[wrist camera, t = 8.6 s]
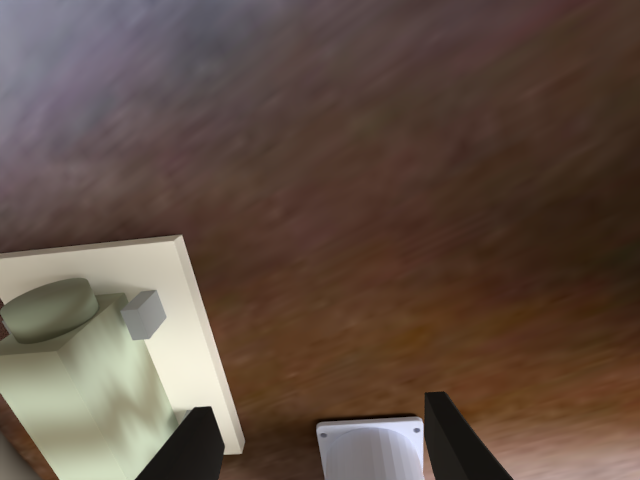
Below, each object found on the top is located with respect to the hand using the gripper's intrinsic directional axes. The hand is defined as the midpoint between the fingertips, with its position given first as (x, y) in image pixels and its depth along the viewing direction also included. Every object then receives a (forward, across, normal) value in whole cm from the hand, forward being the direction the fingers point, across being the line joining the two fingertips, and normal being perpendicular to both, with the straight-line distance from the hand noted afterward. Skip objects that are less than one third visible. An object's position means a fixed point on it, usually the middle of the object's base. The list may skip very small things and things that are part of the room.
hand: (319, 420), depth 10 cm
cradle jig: (+9, +14, +5) cm, 18 cm away
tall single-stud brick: (+8, +14, +5) cm, 17 cm away
